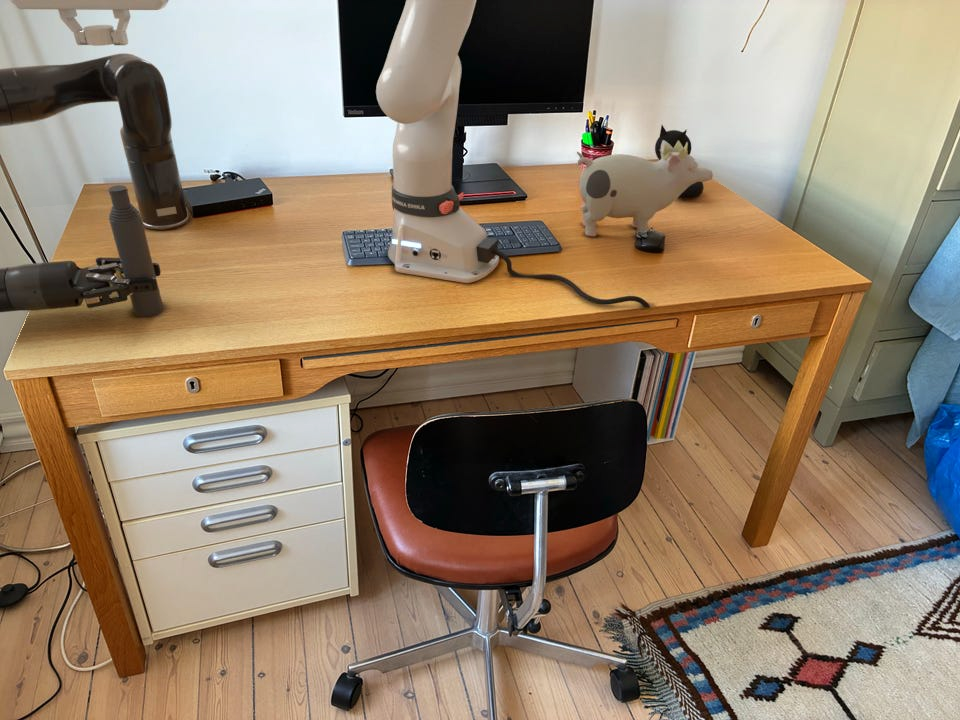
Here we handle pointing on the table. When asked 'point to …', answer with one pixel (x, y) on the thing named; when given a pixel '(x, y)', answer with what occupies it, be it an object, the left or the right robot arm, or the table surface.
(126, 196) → the bottle
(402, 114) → the right robot arm
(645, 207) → the figurine
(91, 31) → the cap
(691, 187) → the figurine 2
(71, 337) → the table surface
